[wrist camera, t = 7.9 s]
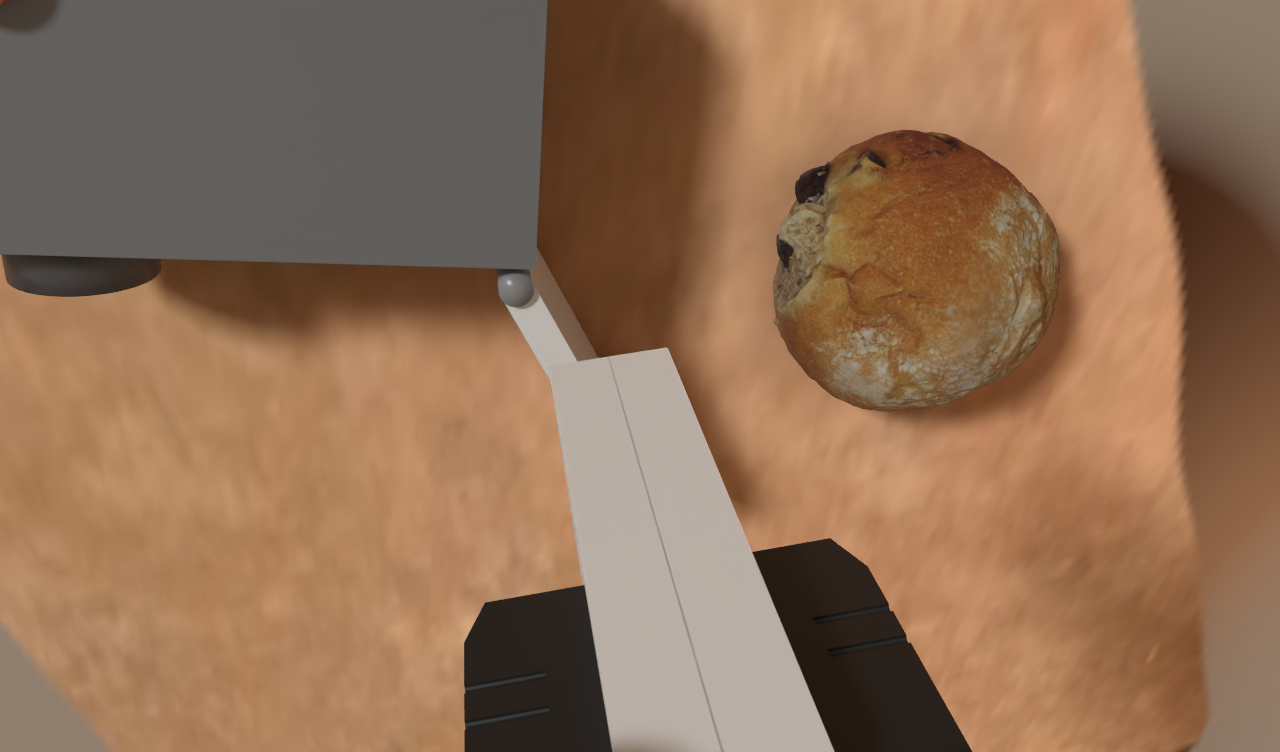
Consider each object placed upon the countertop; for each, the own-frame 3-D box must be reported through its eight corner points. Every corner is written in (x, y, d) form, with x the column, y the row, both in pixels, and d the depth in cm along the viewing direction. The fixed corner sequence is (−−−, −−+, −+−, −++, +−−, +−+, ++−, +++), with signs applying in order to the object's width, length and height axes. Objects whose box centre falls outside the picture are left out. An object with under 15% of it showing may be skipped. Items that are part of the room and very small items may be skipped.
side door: (609, 430, 39) (634, 525, 33) (487, 217, 34) (492, 284, 29) (647, 412, 39) (678, 503, 33) (529, 196, 34) (542, 258, 29)
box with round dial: (-59, -186, 27) (-236, -208, 20) (534, -128, 30) (555, -131, 23) (17, 229, 32) (-105, 324, 25) (521, 245, 35) (535, 335, 28)
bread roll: (792, 356, 43) (893, 500, 38) (696, 218, 35) (807, 379, 30) (994, 218, 42) (1125, 350, 37) (941, 42, 34) (1099, 181, 29)
